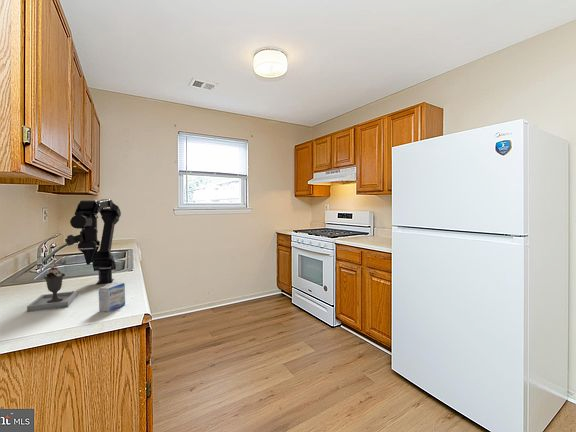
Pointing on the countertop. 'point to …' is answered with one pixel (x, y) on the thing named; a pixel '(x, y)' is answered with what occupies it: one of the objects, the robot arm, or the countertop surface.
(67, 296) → the tray
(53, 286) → the sundae
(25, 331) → the countertop surface
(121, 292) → the medicine box
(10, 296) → the countertop surface
